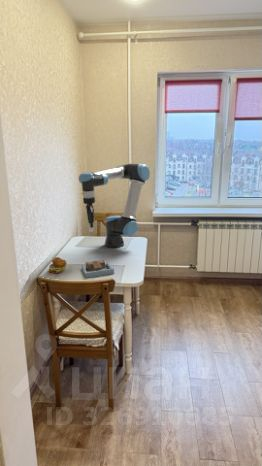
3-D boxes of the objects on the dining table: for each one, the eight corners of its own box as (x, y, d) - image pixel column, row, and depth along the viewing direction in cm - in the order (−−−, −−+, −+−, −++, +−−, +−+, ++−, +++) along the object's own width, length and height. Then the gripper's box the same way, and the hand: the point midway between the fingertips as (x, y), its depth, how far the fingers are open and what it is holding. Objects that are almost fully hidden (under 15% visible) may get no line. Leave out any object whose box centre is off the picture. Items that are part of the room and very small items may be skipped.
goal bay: (108, 264, 213) (107, 260, 213) (114, 273, 200) (113, 268, 199) (81, 268, 208) (81, 264, 207) (86, 277, 194) (86, 273, 194)
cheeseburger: (49, 268, 210) (51, 254, 208) (65, 271, 212) (68, 257, 209) (46, 274, 200) (49, 259, 198) (63, 277, 202) (66, 262, 199)
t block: (103, 265, 213) (103, 259, 211) (108, 272, 202) (108, 266, 201) (85, 268, 209) (85, 262, 208) (89, 275, 198) (89, 269, 197)
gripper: (81, 196, 214) (84, 230, 221) (85, 199, 202) (88, 235, 209) (92, 194, 216) (94, 228, 223) (96, 198, 204) (99, 233, 211)
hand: (91, 231), depth 216 cm, fingers closed
